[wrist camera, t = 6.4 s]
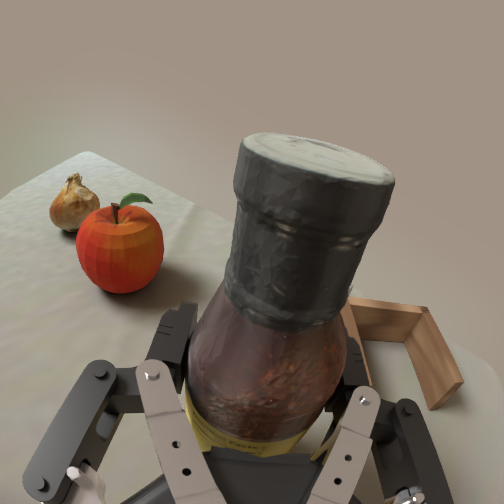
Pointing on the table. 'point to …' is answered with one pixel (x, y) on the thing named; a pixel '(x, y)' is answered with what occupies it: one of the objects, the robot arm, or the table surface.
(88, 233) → the fruit
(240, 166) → the sauce bottle
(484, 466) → the table surface
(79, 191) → the onion
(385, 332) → the frame
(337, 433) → the robot arm
